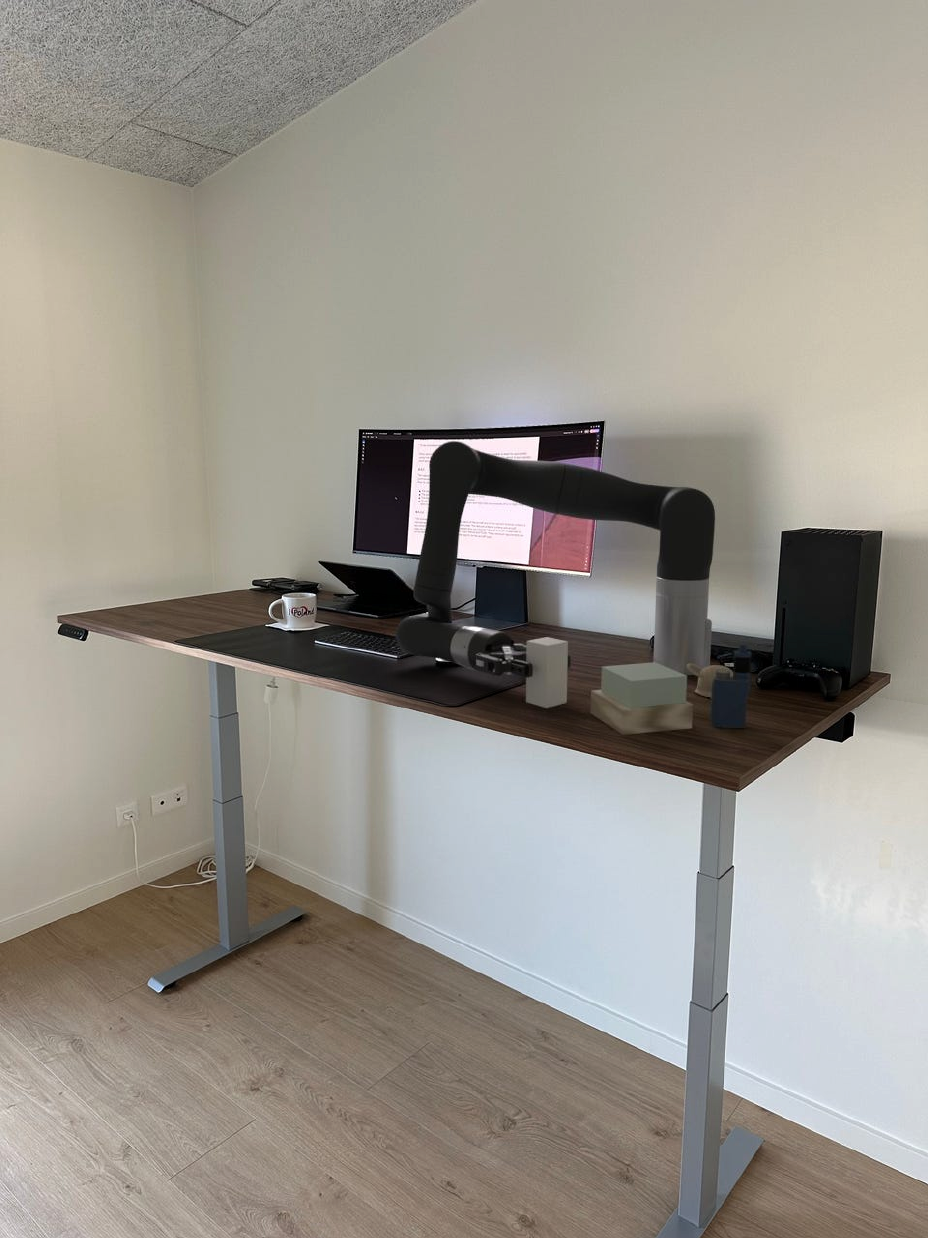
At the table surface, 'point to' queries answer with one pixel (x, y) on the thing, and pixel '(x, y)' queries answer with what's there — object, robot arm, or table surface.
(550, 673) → the white block
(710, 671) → the decorative ornament
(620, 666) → the top block
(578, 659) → the table surface
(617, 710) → the base block
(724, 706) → the vaping device
